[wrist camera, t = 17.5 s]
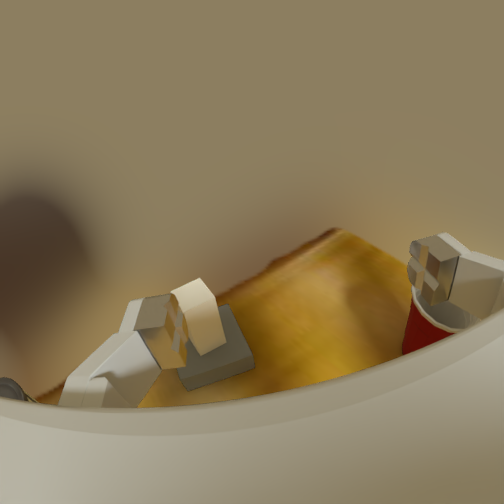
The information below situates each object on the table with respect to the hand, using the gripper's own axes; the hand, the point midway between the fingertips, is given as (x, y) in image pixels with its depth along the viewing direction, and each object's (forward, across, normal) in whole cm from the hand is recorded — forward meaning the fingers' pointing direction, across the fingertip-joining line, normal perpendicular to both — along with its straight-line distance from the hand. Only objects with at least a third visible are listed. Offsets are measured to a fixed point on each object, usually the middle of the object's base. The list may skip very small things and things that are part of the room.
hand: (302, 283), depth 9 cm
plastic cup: (+14, -20, +29) cm, 38 cm away
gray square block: (+21, +10, +26) cm, 35 cm away
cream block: (+21, +10, +22) cm, 32 cm away
